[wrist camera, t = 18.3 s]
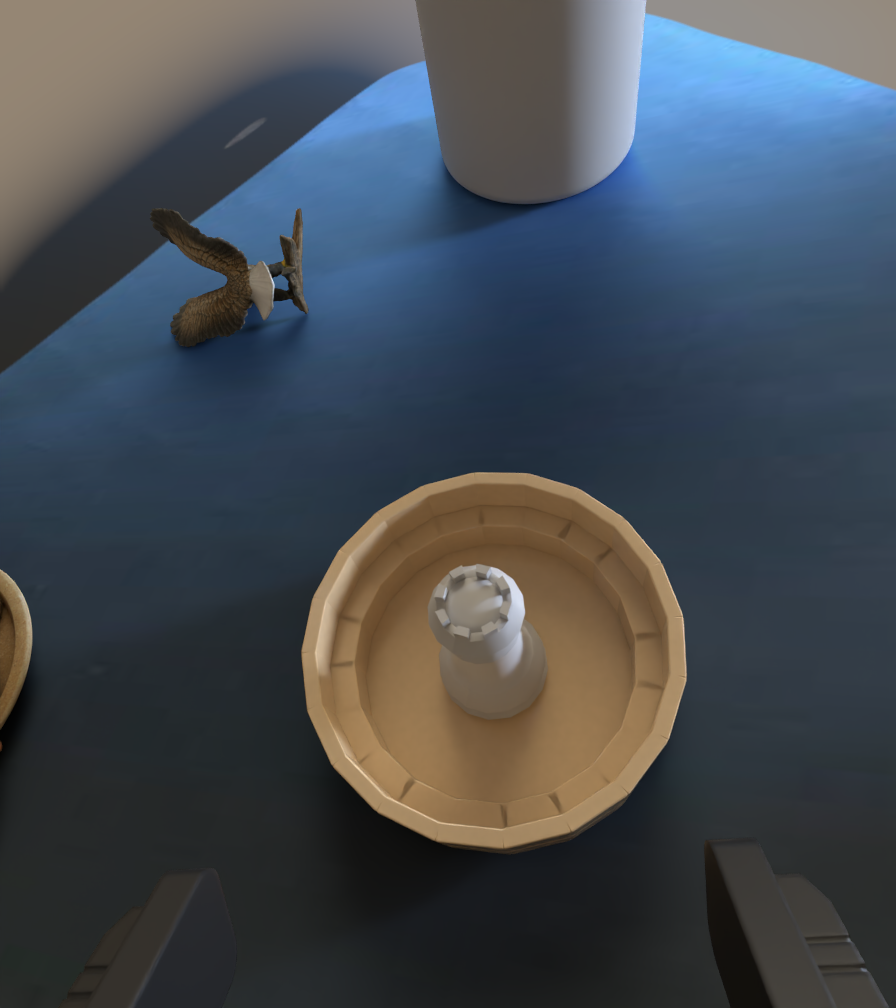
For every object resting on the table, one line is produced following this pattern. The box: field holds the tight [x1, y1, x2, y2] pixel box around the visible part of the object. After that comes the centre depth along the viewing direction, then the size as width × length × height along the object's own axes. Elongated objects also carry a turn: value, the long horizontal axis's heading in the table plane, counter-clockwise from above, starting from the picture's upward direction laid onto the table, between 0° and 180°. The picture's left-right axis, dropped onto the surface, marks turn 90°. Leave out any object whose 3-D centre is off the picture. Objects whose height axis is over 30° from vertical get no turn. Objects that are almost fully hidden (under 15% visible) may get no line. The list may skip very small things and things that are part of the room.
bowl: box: [301, 472, 687, 854], centre depth 28 cm, size 14×14×4 cm
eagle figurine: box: [150, 208, 308, 347], centre depth 40 cm, size 8×7×9 cm
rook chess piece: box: [428, 563, 548, 720], centre depth 26 cm, size 4×4×8 cm
